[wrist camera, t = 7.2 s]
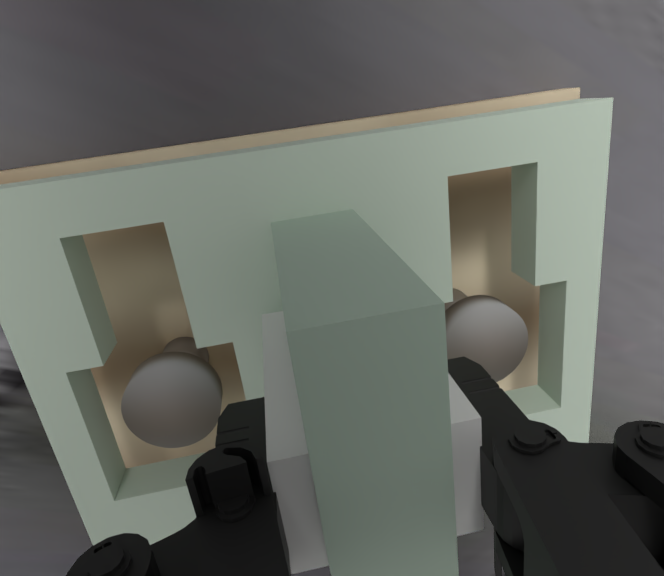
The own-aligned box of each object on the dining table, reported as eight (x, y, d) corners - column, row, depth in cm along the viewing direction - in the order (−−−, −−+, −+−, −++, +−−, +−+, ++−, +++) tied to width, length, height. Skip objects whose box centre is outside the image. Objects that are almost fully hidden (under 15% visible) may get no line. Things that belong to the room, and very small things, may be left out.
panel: (-20, 187, 14) (-427, 304, 6) (579, 98, 16) (950, 87, 7) (112, 526, 19) (-3, 865, 10) (563, 430, 20) (778, 654, 12)
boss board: (-23, 174, 17) (-116, 196, 13) (564, 88, 19) (653, 83, 15) (123, 547, 24) (94, 644, 19) (549, 454, 26) (608, 523, 21)
